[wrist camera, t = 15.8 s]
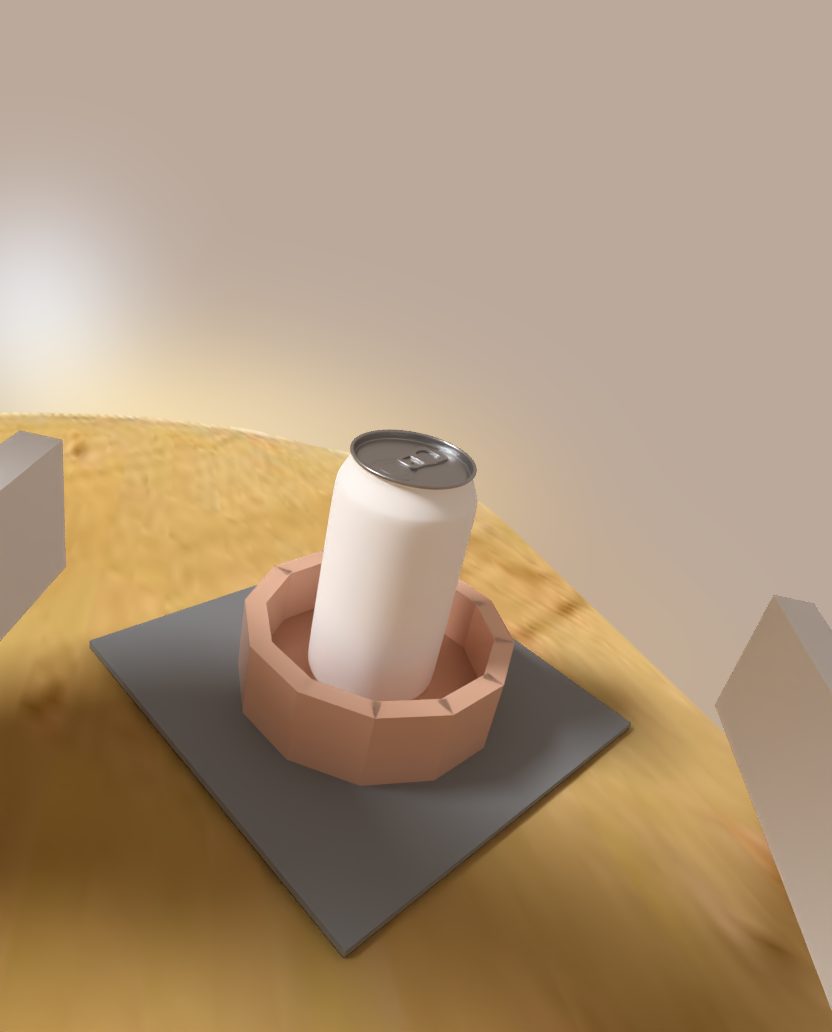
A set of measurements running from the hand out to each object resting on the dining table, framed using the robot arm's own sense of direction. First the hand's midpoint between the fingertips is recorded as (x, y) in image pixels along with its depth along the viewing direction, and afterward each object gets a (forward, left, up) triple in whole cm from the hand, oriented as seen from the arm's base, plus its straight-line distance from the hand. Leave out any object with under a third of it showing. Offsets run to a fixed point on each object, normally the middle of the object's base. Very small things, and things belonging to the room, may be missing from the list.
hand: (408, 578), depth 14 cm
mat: (-12, +14, -19) cm, 27 cm away
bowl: (-12, +14, -19) cm, 27 cm away
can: (-12, +14, -18) cm, 26 cm away
